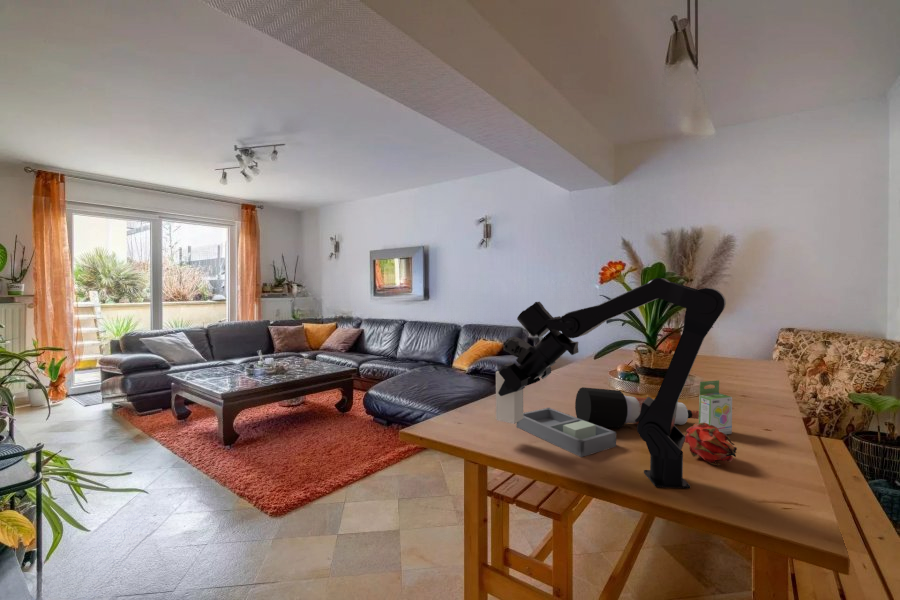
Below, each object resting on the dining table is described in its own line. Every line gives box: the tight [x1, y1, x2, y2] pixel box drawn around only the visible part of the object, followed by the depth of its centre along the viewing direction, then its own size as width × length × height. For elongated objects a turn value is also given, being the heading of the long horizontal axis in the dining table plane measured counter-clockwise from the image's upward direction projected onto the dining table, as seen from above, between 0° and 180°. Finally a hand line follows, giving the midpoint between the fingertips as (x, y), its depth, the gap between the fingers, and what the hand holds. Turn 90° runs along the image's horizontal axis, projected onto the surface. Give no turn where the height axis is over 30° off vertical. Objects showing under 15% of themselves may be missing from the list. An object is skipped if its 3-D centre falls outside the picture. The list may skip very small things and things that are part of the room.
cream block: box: [495, 370, 524, 425], centre depth 101 cm, size 5×5×12 cm
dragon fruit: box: [684, 422, 738, 466], centre depth 90 cm, size 8×8×12 cm
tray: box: [515, 407, 617, 458], centre depth 105 cm, size 23×12×4 cm, turn 30°
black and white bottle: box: [574, 386, 699, 429], centre depth 113 cm, size 10×34×10 cm, turn 95°
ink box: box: [698, 379, 733, 435], centre depth 106 cm, size 7×4×13 cm, turn 105°
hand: (504, 392), depth 102 cm, fingers closed on cream block, 5 cm apart
